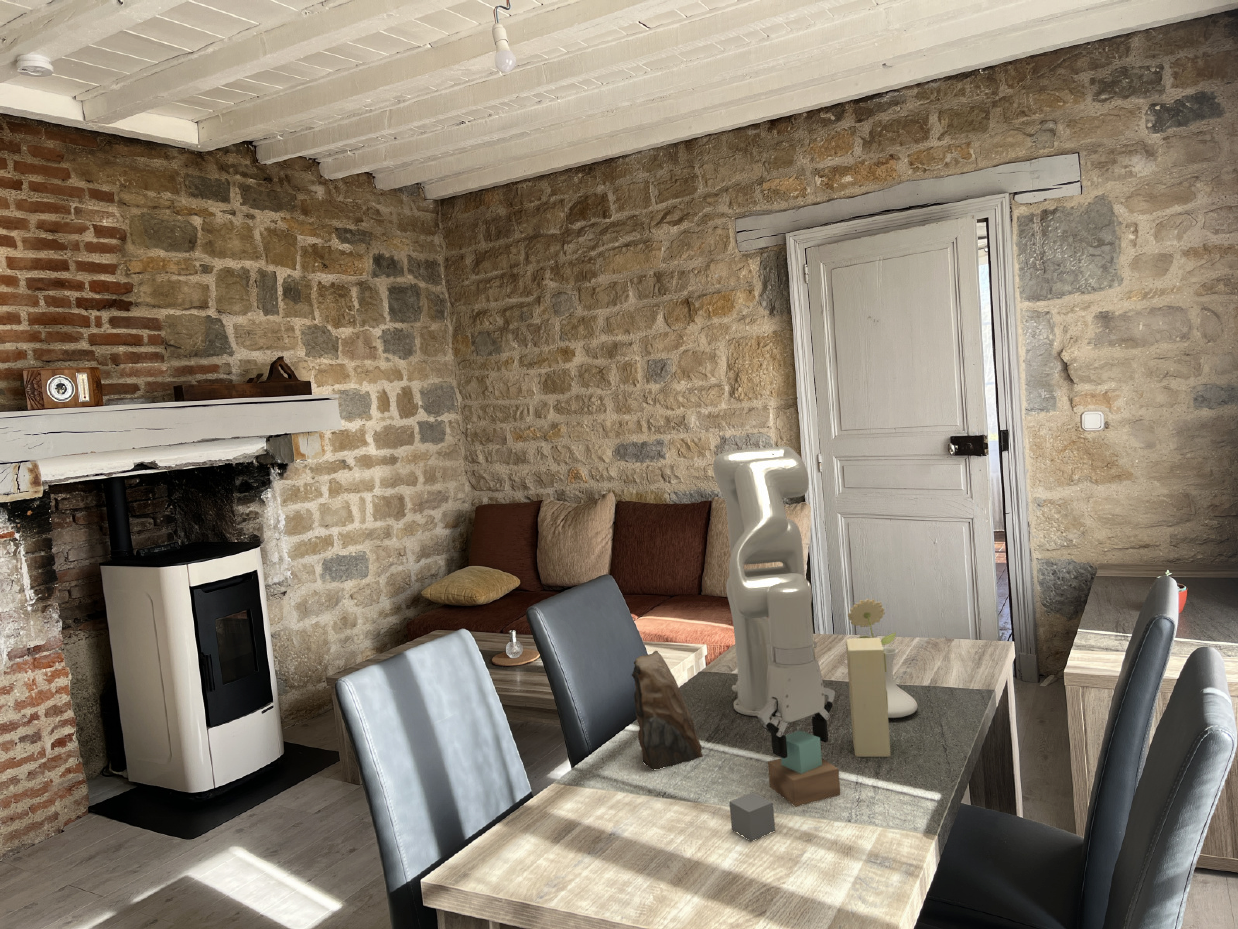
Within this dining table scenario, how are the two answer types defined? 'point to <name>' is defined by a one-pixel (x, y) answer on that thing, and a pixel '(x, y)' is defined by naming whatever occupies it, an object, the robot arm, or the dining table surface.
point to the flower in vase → (867, 616)
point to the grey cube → (752, 816)
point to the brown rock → (662, 715)
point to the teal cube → (802, 752)
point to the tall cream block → (868, 697)
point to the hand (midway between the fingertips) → (800, 748)
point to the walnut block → (804, 782)
